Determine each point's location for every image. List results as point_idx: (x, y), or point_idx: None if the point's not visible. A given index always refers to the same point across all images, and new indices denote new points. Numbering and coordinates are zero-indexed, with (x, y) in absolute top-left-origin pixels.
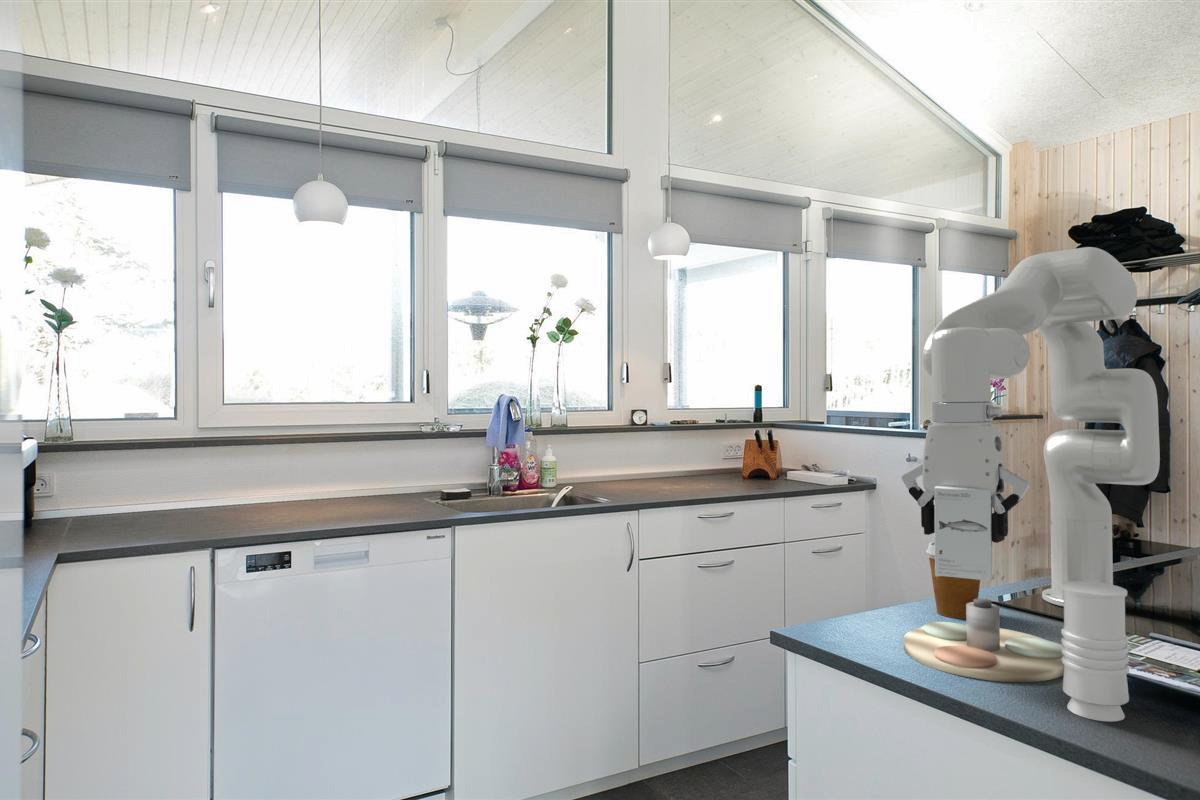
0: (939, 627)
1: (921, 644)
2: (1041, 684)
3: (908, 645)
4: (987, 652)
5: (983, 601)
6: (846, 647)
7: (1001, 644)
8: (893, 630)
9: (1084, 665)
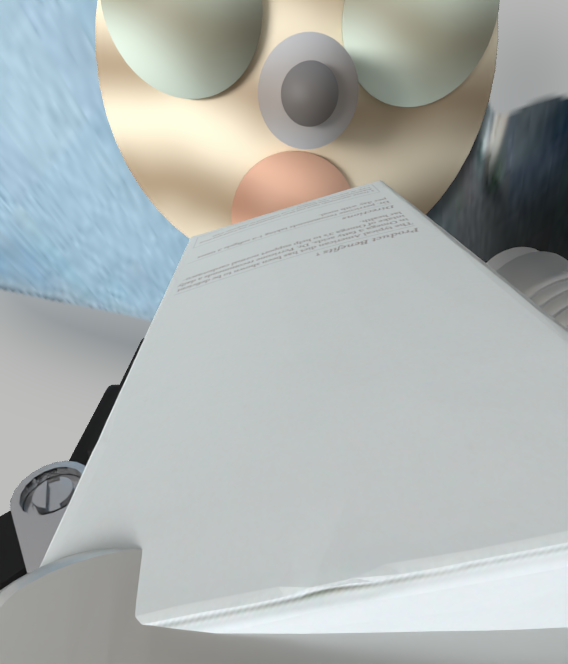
0: (150, 10)
1: (182, 185)
2: (431, 214)
3: (166, 213)
4: (327, 169)
5: (316, 106)
6: (59, 255)
7: (332, 35)
8: (26, 28)
9: None
